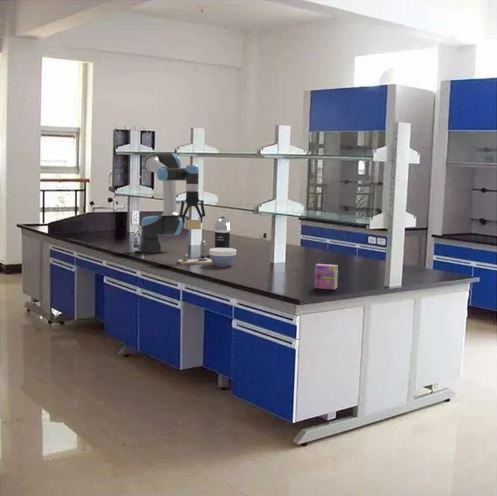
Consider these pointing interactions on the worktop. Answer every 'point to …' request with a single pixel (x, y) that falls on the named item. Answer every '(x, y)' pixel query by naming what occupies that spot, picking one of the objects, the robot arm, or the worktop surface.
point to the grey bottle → (222, 233)
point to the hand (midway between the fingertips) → (192, 228)
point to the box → (326, 276)
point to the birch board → (195, 262)
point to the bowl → (222, 256)
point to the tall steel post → (203, 251)
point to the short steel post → (185, 257)
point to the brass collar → (193, 224)
